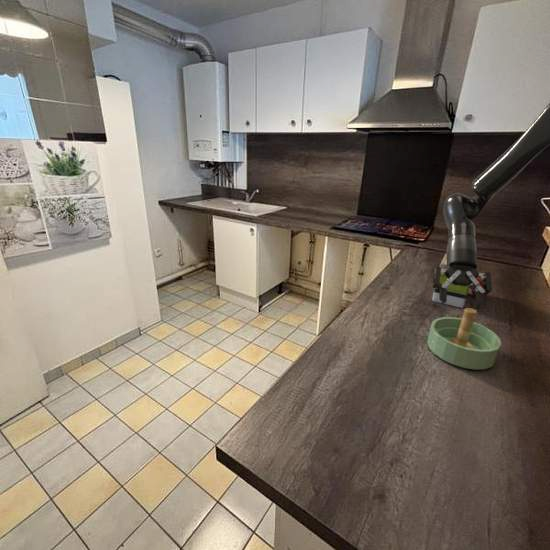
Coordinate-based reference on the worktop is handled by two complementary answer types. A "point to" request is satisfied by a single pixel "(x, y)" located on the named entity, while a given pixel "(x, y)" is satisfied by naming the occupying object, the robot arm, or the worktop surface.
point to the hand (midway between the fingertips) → (461, 304)
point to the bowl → (476, 358)
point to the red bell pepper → (480, 285)
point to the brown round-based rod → (465, 328)
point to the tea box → (451, 290)
